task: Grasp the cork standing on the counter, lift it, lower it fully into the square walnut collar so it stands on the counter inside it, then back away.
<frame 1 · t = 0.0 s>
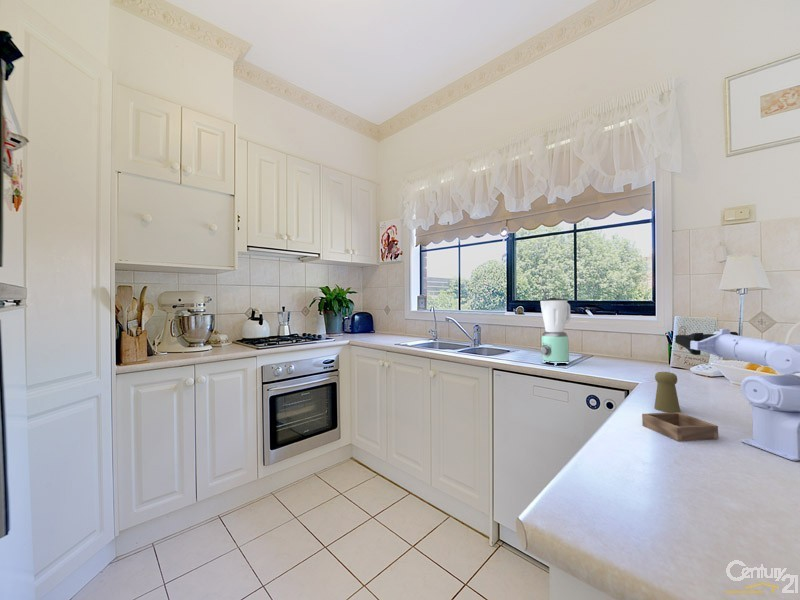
hand: (689, 338, 90), 22 cm above the counter, tool horizontal, fingers open, 7 cm apart
walnut collar: (678, 431, 80), on the counter
cork: (667, 410, 97), on the counter
mint green blender: (556, 364, 174), on the counter
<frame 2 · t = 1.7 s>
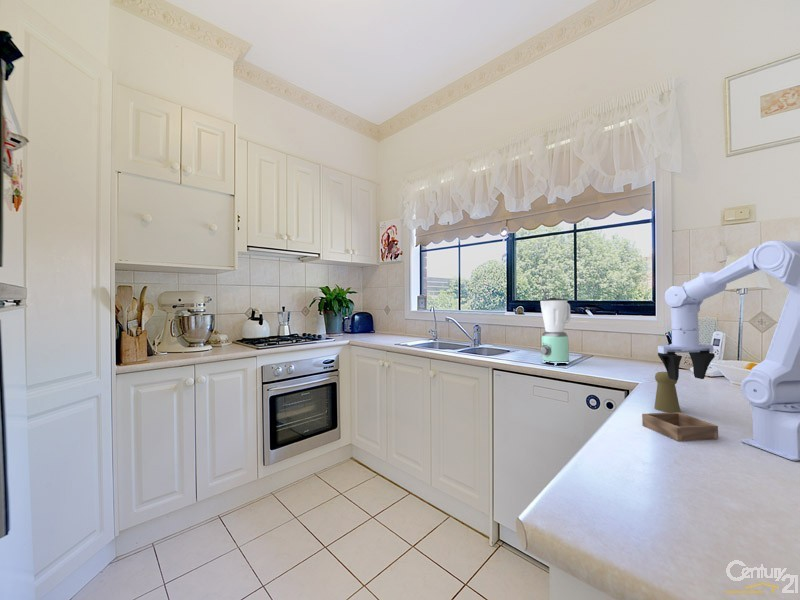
hand: (686, 378, 91), 10 cm above the counter, tool pointing down, fingers open, 7 cm apart
nothing on the counter moved.
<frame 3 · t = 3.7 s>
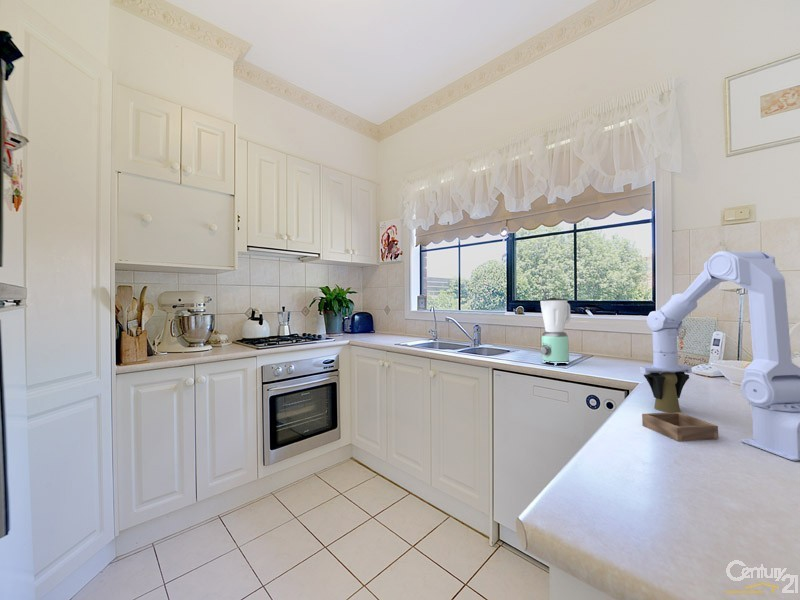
hand: (666, 397, 97), 3 cm above the counter, tool pointing down, fingers closed on cork, 5 cm apart
cork: (667, 410, 97), on the counter, touching gripper
everything else where it was.
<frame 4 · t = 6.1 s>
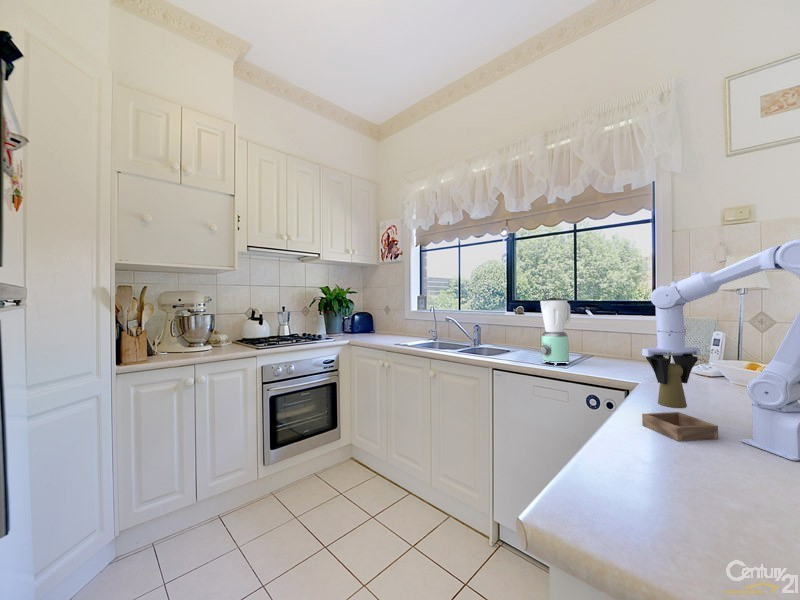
hand: (672, 382, 87), 10 cm above the counter, tool pointing down, fingers closed on cork, 5 cm apart
cork: (672, 405, 88), point 4 cm above the counter, touching gripper
everything else where it was.
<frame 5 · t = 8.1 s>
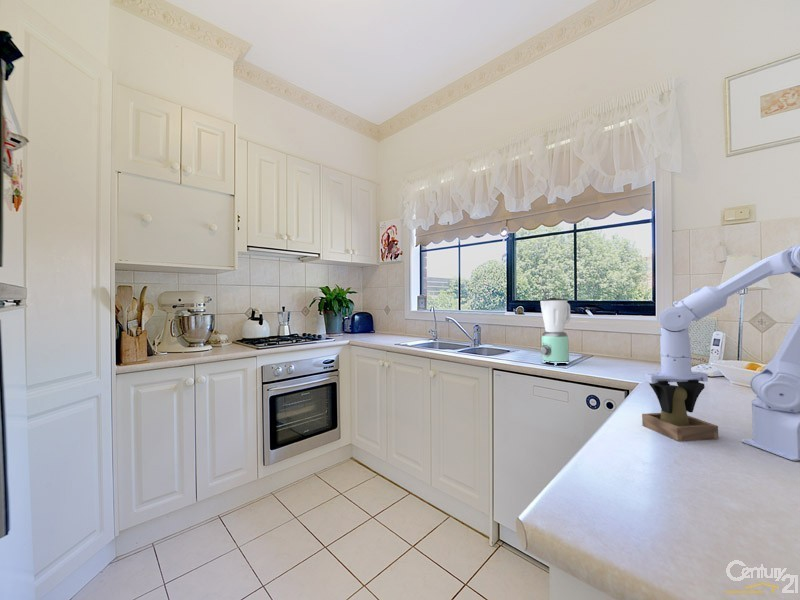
hand: (677, 411, 80), 5 cm above the counter, tool pointing down, fingers closed on cork, 5 cm apart
cork: (674, 431, 81), resting in walnut collar, touching gripper
everything else where it was.
when the fingers open (5 cm above the counter, at t = 8.5 s): cork stays where it is, resting in walnut collar.
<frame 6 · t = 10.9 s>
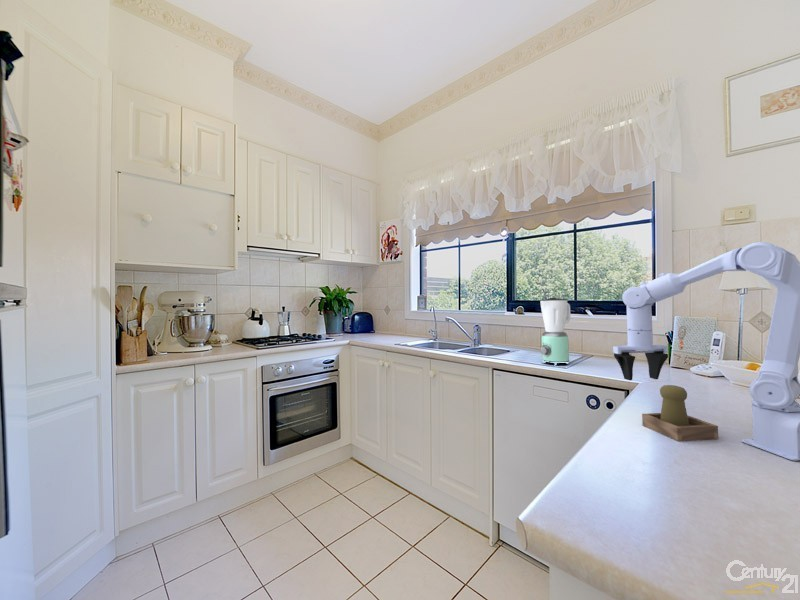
hand: (641, 379, 91), 10 cm above the counter, tool pointing down, fingers open, 7 cm apart
cork: (674, 431, 81), resting in walnut collar
everything else where it was.
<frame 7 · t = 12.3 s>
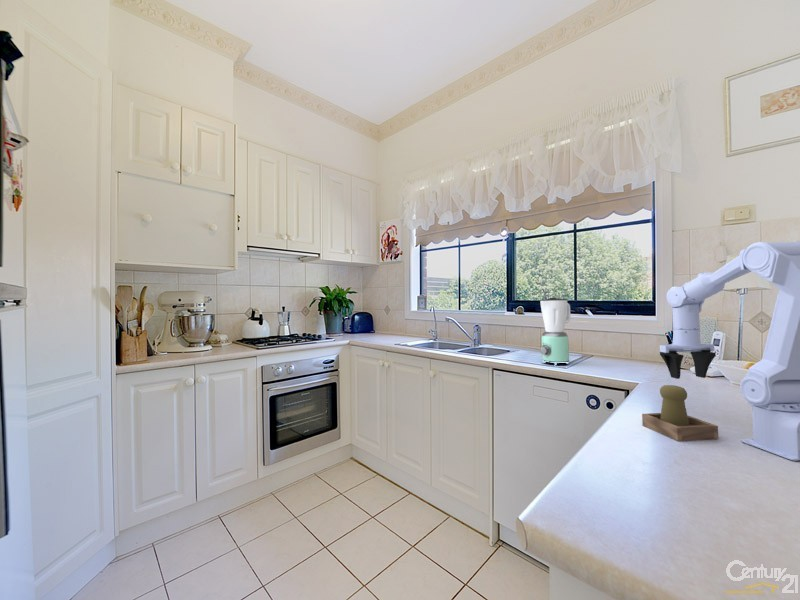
hand: (688, 377, 92), 10 cm above the counter, tool pointing down, fingers open, 7 cm apart
nothing on the counter moved.
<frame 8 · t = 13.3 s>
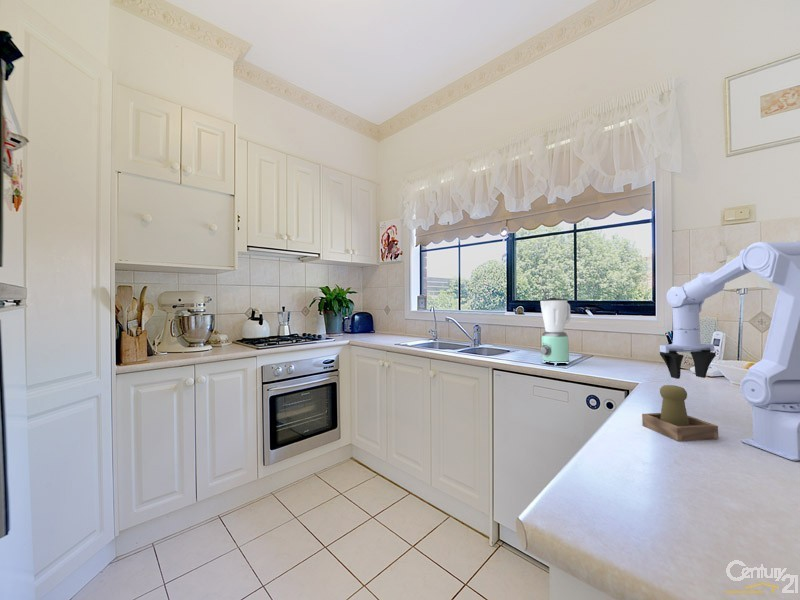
hand: (688, 377, 92), 10 cm above the counter, tool pointing down, fingers open, 7 cm apart
nothing on the counter moved.
at the end: cork 0.9 cm off-centre on the walnut collar, point 0.0 cm above the walnut collar's base; cork tilted 0°; the gripper is holding nothing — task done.
